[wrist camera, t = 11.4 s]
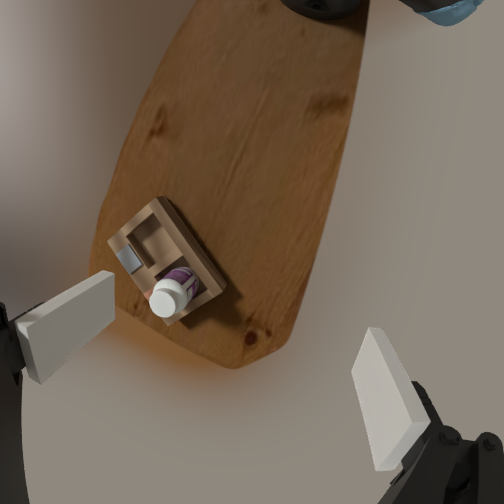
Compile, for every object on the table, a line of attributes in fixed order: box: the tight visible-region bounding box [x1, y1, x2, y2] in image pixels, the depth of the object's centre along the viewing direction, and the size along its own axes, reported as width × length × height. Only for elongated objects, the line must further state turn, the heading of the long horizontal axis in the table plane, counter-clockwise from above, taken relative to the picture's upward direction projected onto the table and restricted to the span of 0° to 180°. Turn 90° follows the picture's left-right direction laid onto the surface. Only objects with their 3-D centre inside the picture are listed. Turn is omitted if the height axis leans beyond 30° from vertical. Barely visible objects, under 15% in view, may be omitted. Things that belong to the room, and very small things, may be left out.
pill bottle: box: [149, 266, 199, 317], centre depth 42 cm, size 5×5×10 cm
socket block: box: [107, 196, 227, 326], centre depth 46 cm, size 12×18×4 cm
